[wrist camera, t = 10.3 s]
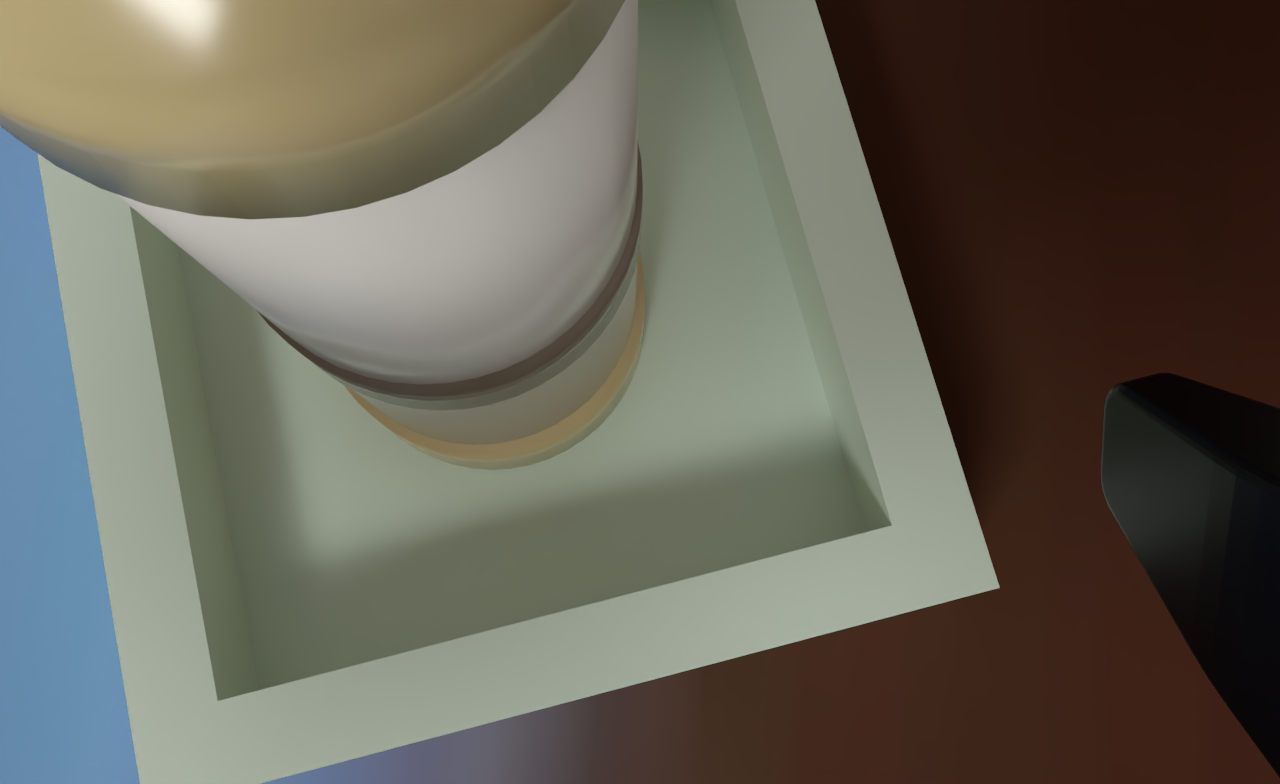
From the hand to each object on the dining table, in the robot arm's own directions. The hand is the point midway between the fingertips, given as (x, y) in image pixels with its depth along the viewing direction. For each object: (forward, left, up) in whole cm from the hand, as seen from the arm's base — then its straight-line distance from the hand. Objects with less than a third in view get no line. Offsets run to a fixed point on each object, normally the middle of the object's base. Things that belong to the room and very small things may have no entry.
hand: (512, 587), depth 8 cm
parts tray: (+4, +1, -7) cm, 8 cm away
